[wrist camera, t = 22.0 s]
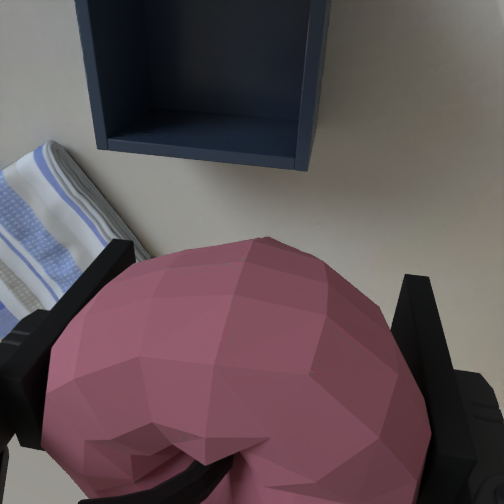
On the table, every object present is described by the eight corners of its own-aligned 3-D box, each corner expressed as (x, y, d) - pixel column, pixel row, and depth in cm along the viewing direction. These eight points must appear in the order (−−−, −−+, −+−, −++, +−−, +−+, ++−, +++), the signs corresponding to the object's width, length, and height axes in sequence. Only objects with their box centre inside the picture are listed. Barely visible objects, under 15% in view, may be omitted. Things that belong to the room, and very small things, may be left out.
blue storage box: (316, 129, 34) (307, 172, 27) (147, 113, 36) (96, 149, 29) (347, -137, 26) (346, -180, 19) (126, -140, 28) (46, -180, 20)
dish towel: (176, 281, 45) (166, 298, 42) (26, 344, 54) (11, 361, 52) (61, 129, 38) (42, 139, 36) (-87, 231, 48) (-109, 244, 45)
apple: (192, 375, 20) (79, 667, 12) (101, 203, 16) (-172, 458, 8) (418, 352, 17) (486, 725, 8) (375, 133, 13) (426, 428, 5)
